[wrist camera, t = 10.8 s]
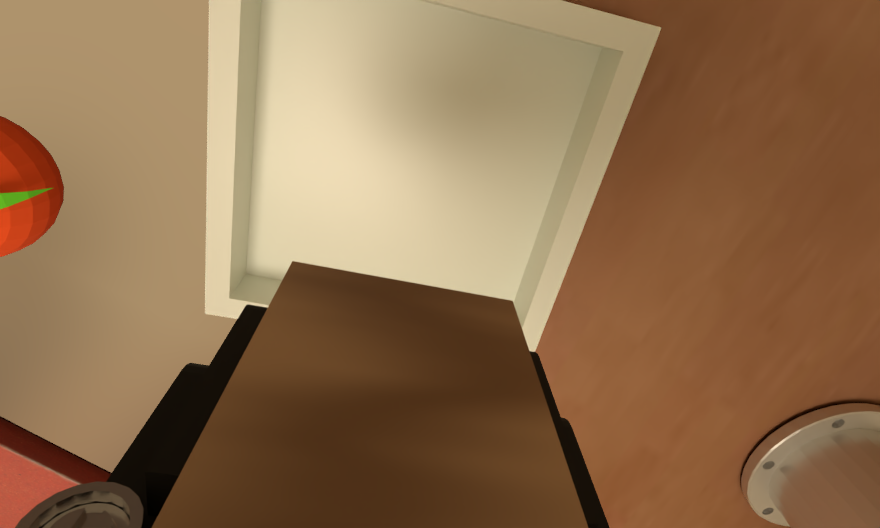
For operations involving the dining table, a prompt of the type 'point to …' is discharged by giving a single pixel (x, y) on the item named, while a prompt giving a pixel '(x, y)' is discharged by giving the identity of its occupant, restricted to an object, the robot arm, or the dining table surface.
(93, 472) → the plant saucer
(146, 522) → the robot arm
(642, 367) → the dining table surface
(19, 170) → the clementine
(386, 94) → the tray
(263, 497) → the block
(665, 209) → the dining table surface
